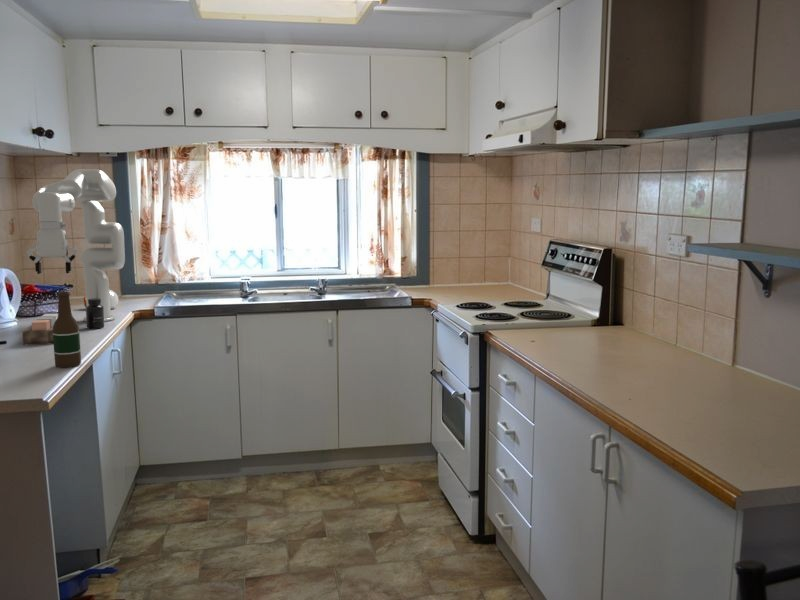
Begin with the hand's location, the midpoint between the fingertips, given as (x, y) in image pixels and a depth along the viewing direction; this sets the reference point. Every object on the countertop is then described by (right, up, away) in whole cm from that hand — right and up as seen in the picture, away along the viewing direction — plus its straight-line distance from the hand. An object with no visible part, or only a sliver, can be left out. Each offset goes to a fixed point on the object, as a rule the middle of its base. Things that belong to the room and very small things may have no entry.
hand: (53, 273), depth 261 cm
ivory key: (-9, -20, +16) cm, 27 cm away
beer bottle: (+20, -31, -32) cm, 49 cm away
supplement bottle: (+2, -22, +31) cm, 38 cm away
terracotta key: (-6, -22, +3) cm, 23 cm away
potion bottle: (-15, -15, +77) cm, 80 cm away
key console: (-7, -25, +10) cm, 27 cm away
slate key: (-7, -21, +9) cm, 24 cm away
